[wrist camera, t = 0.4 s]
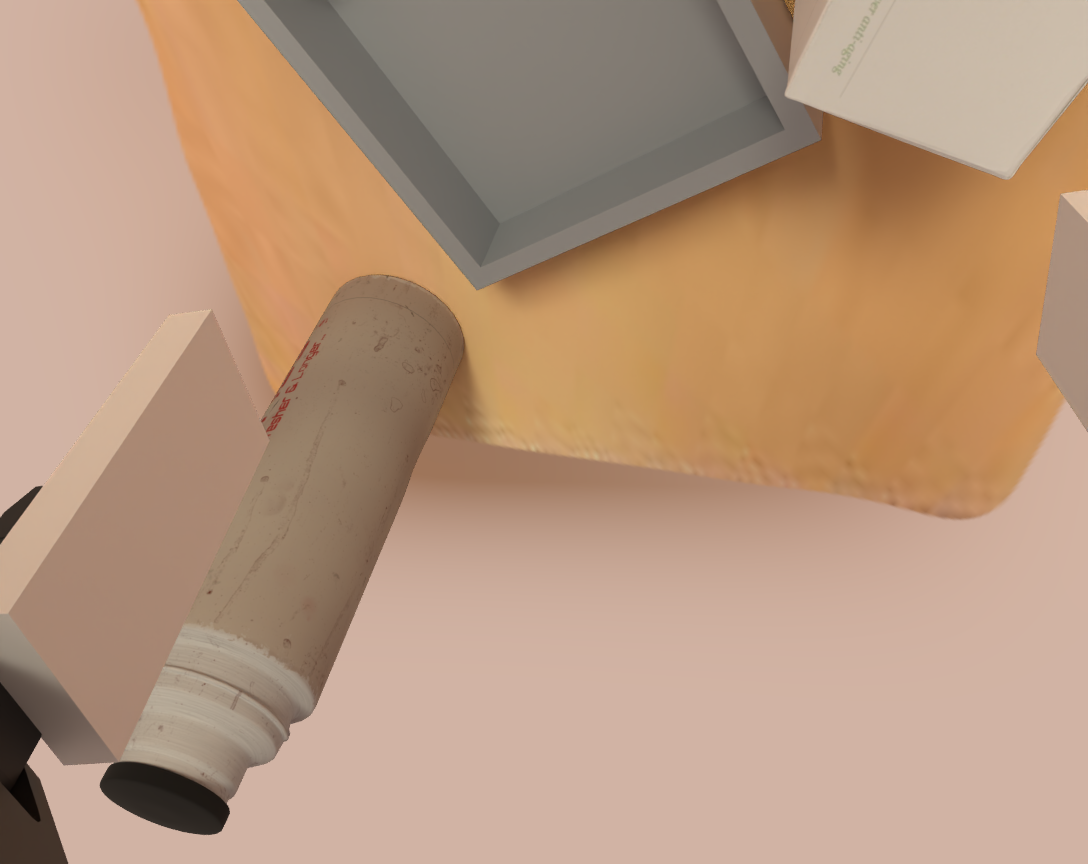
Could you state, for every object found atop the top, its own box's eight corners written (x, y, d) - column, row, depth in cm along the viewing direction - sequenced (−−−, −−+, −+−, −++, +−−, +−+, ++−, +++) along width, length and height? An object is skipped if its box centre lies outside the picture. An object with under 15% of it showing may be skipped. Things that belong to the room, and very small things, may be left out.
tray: (602, -373, 30) (574, -347, 27) (824, 84, 38) (821, 139, 36) (257, -76, 39) (209, -34, 36) (500, 236, 48) (476, 290, 45)
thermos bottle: (306, 321, 55) (28, 784, 37) (376, 248, 50) (92, 747, 32) (415, 399, 58) (207, 865, 40) (492, 338, 53) (293, 842, 35)
